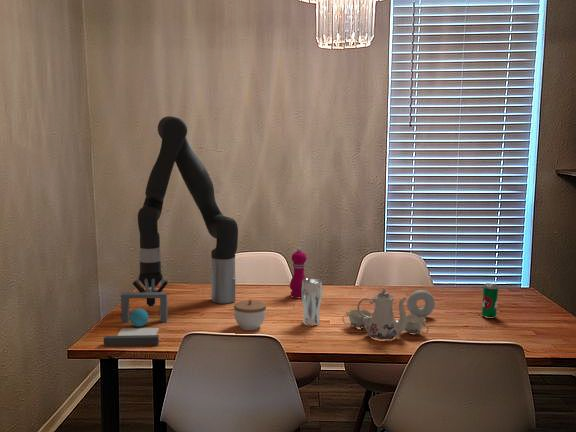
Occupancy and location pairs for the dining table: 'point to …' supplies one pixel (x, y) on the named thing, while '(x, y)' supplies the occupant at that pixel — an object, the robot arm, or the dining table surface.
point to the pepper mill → (298, 273)
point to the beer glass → (311, 300)
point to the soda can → (490, 300)
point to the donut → (418, 296)
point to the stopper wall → (131, 340)
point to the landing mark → (138, 331)
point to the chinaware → (385, 318)
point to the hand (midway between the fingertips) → (151, 305)
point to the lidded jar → (249, 314)
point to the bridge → (160, 295)
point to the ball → (139, 317)
